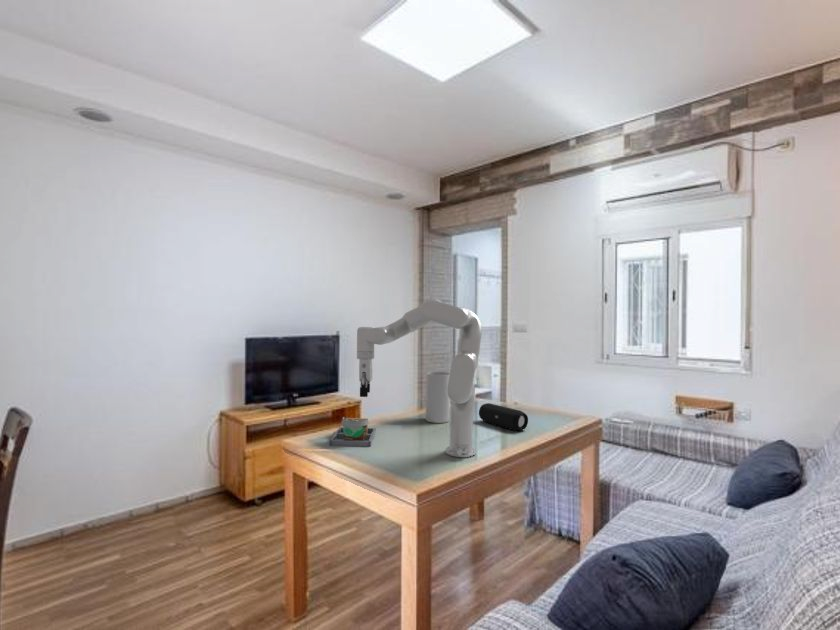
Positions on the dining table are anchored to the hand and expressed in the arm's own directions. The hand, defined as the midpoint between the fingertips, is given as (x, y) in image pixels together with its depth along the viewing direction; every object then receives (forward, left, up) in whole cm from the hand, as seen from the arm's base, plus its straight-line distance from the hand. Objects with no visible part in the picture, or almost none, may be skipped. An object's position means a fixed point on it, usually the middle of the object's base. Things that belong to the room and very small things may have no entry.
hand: (364, 394), depth 197 cm
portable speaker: (+35, -67, -21) cm, 78 cm away
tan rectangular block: (+7, +5, -20) cm, 22 cm away
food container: (-5, +4, -20) cm, 21 cm away
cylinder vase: (+42, -33, -21) cm, 58 cm away
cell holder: (+2, +5, -21) cm, 22 cm away
